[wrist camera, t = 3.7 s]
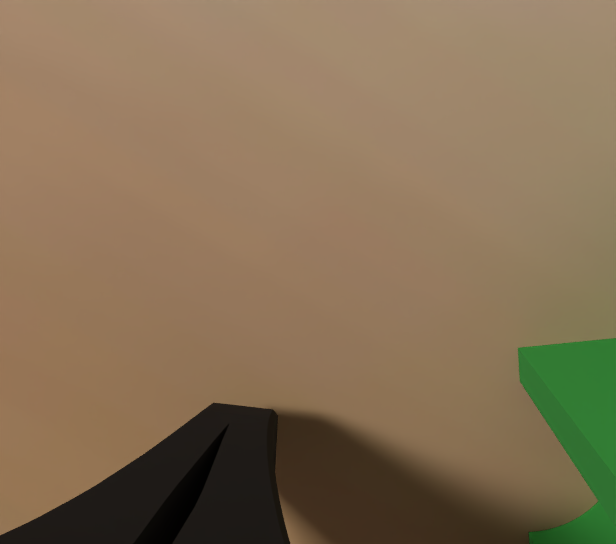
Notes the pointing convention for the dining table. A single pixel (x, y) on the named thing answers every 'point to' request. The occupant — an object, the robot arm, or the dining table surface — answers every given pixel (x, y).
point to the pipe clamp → (579, 426)
